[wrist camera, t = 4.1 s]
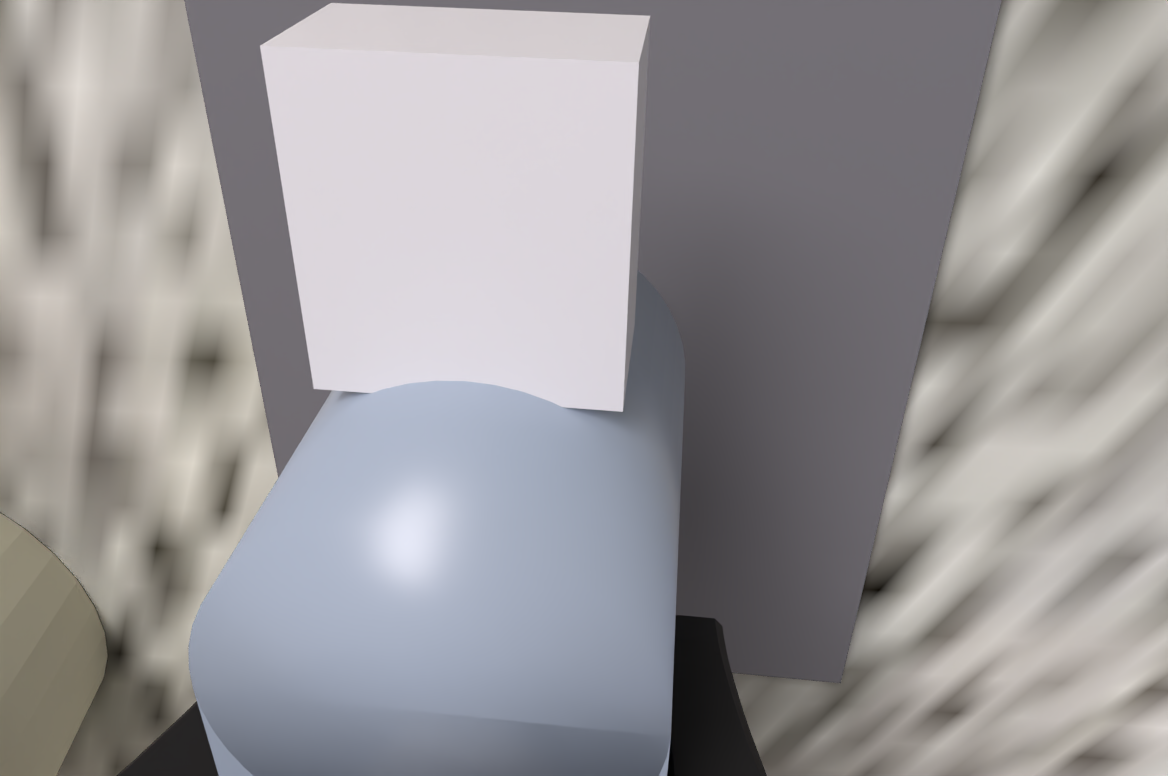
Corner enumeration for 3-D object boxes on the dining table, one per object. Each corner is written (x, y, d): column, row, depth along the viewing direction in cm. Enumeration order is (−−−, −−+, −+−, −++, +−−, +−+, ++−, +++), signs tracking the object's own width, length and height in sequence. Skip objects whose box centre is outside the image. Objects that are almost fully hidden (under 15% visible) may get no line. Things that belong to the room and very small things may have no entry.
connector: (651, 774, 17) (629, 1155, 12) (423, 750, 17) (317, 1113, 12) (719, -22, 10) (728, 158, 5) (336, -37, 10) (28, 121, 6)
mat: (838, 665, 22) (840, 683, 21) (316, 615, 23) (309, 631, 22) (1026, -153, 13) (1036, -150, 13) (166, -176, 14) (150, -174, 14)
